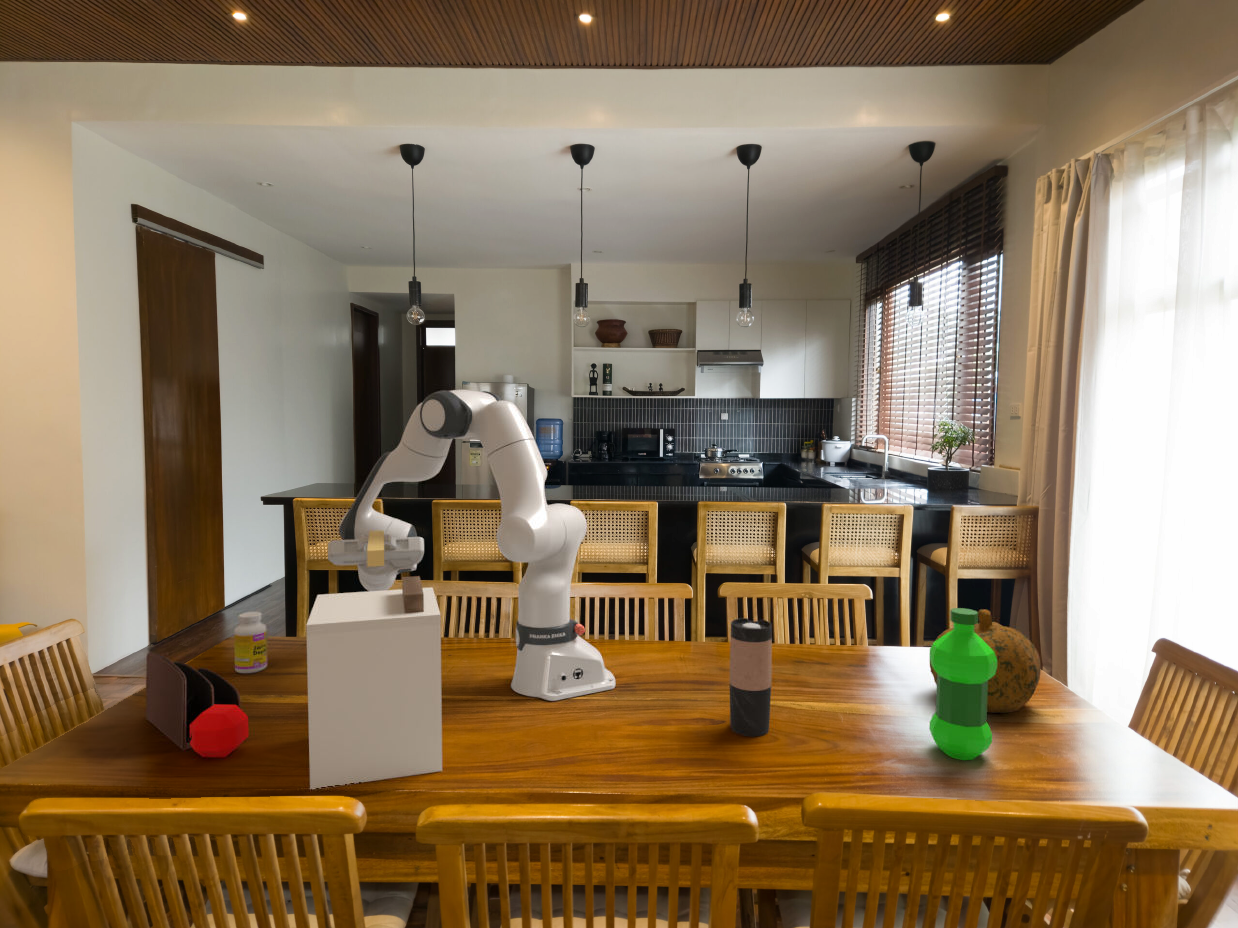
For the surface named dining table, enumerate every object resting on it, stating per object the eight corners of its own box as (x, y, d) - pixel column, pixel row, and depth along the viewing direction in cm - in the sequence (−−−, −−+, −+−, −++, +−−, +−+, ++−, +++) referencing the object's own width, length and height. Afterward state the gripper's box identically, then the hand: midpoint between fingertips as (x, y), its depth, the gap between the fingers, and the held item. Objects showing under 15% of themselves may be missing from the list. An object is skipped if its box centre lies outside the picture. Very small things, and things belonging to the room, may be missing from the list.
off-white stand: (434, 722, 137) (432, 587, 136) (442, 770, 118) (440, 614, 117) (320, 735, 131) (317, 594, 130) (310, 789, 112) (306, 624, 111)
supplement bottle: (254, 675, 162) (252, 618, 161) (228, 673, 163) (226, 617, 163) (273, 665, 169) (272, 611, 168) (249, 663, 170) (247, 609, 169)
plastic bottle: (963, 772, 119) (968, 622, 117) (914, 745, 128) (918, 606, 127) (1006, 760, 123) (1012, 615, 121) (955, 735, 132) (960, 601, 131)
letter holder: (182, 751, 125) (180, 672, 124) (145, 720, 138) (142, 647, 137) (243, 733, 133) (240, 657, 132) (202, 704, 146) (200, 636, 145)
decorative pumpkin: (1054, 695, 150) (1051, 601, 148) (1026, 736, 134) (1023, 632, 132) (952, 675, 163) (948, 589, 161) (917, 710, 148) (912, 616, 146)
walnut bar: (419, 592, 132) (419, 576, 132) (423, 611, 118) (423, 593, 118) (402, 593, 131) (402, 577, 131) (404, 613, 118) (404, 595, 117)
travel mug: (745, 740, 130) (747, 631, 129) (720, 724, 137) (722, 620, 136) (779, 732, 134) (781, 625, 132) (753, 717, 140) (754, 615, 139)
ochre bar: (384, 544, 159) (383, 530, 158) (384, 565, 136) (384, 550, 136) (369, 544, 158) (369, 531, 157) (367, 566, 135) (367, 550, 135)
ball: (211, 741, 129) (210, 699, 129) (255, 742, 129) (254, 700, 128) (182, 762, 121) (181, 717, 121) (229, 763, 121) (228, 718, 120)
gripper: (329, 548, 165) (324, 526, 153) (422, 544, 171) (424, 522, 159) (328, 575, 162) (324, 554, 150) (422, 569, 168) (425, 549, 157)
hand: (376, 537), depth 155 cm, fingers closed on ochre bar, 3 cm apart
